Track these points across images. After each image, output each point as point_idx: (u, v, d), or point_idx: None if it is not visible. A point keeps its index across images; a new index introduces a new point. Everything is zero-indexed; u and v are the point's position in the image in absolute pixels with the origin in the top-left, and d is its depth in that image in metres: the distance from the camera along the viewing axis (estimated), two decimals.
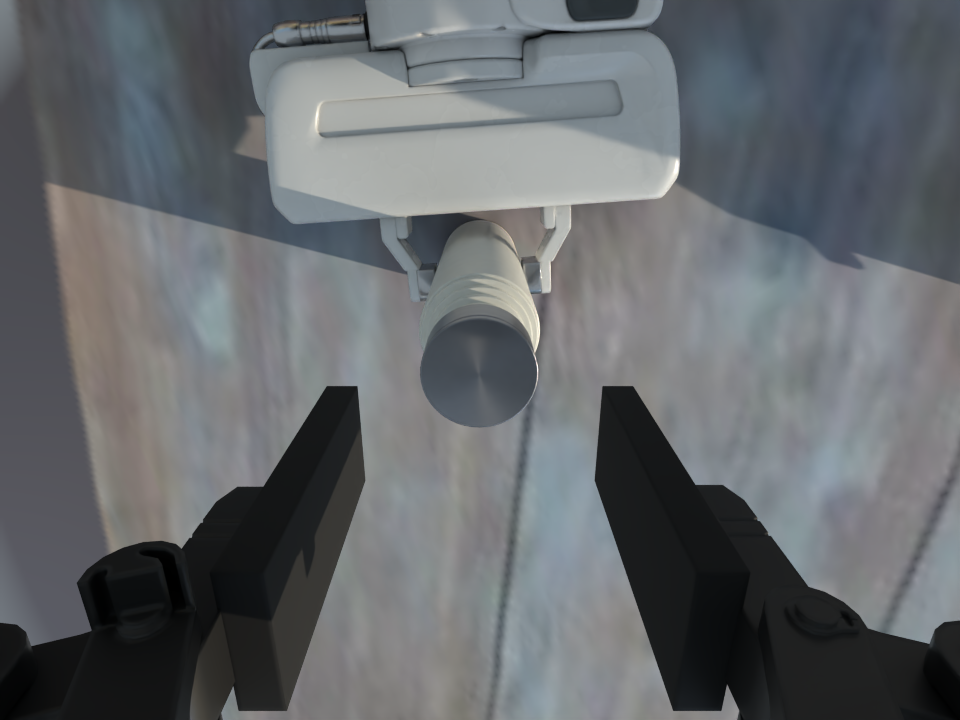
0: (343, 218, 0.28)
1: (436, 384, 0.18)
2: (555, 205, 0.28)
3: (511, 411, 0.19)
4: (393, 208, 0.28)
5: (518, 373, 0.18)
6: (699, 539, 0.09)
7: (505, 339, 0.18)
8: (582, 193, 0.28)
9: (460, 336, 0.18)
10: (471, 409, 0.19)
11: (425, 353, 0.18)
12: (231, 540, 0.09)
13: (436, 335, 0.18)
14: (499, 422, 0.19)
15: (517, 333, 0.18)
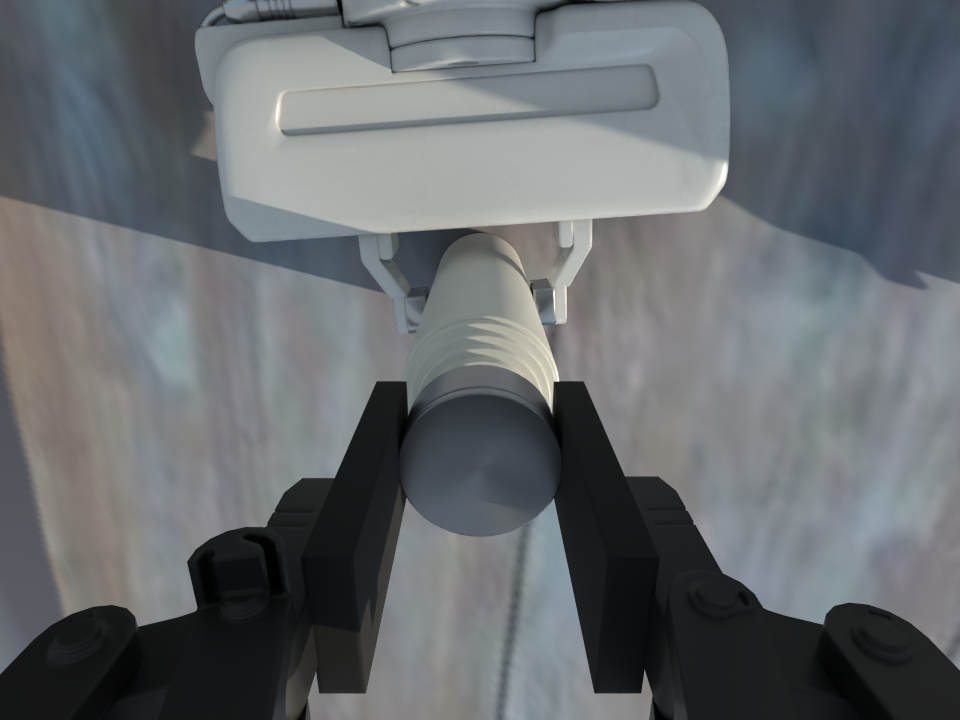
0: (313, 235, 0.23)
1: (420, 481, 0.13)
2: (573, 219, 0.23)
3: (525, 516, 0.13)
4: (374, 223, 0.23)
5: (535, 466, 0.13)
6: (617, 526, 0.09)
7: (517, 421, 0.13)
8: (607, 205, 0.22)
9: (453, 417, 0.12)
10: (468, 513, 0.13)
11: (404, 440, 0.13)
12: (315, 527, 0.09)
13: (419, 415, 0.13)
14: (508, 530, 0.14)
15: (534, 413, 0.12)
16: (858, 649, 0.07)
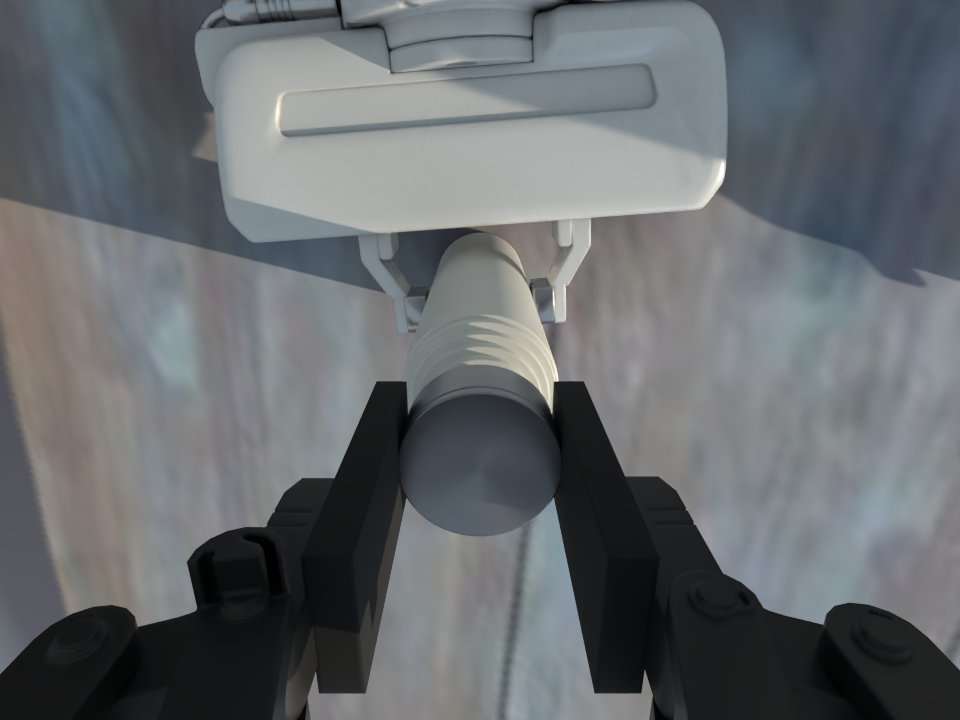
0: (313, 235, 0.23)
1: (522, 505, 0.13)
2: (572, 218, 0.23)
3: (505, 404, 0.12)
4: (374, 223, 0.23)
5: (447, 428, 0.13)
6: (617, 526, 0.09)
7: (415, 466, 0.13)
8: (605, 204, 0.23)
9: (445, 512, 0.13)
10: (532, 452, 0.13)
11: (491, 534, 0.14)
12: (314, 527, 0.09)
13: (462, 533, 0.14)
14: (529, 410, 0.12)
15: (399, 458, 0.13)
16: (858, 649, 0.07)
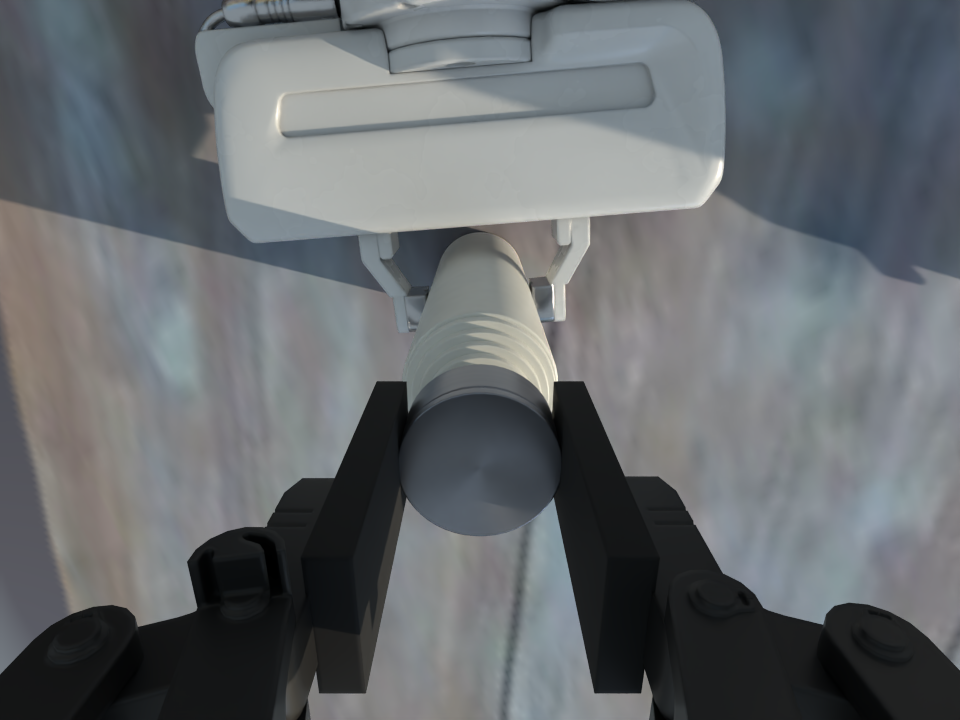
0: (313, 236, 0.23)
1: (494, 413, 0.12)
2: (571, 217, 0.23)
3: (408, 481, 0.13)
4: (374, 223, 0.23)
5: (458, 511, 0.13)
6: (617, 526, 0.09)
7: (510, 515, 0.13)
8: (604, 203, 0.23)
9: (542, 470, 0.13)
10: (436, 438, 0.13)
11: (543, 421, 0.13)
12: (315, 527, 0.09)
13: (559, 444, 0.13)
14: (399, 463, 0.13)
15: (510, 530, 0.14)
16: (858, 649, 0.07)
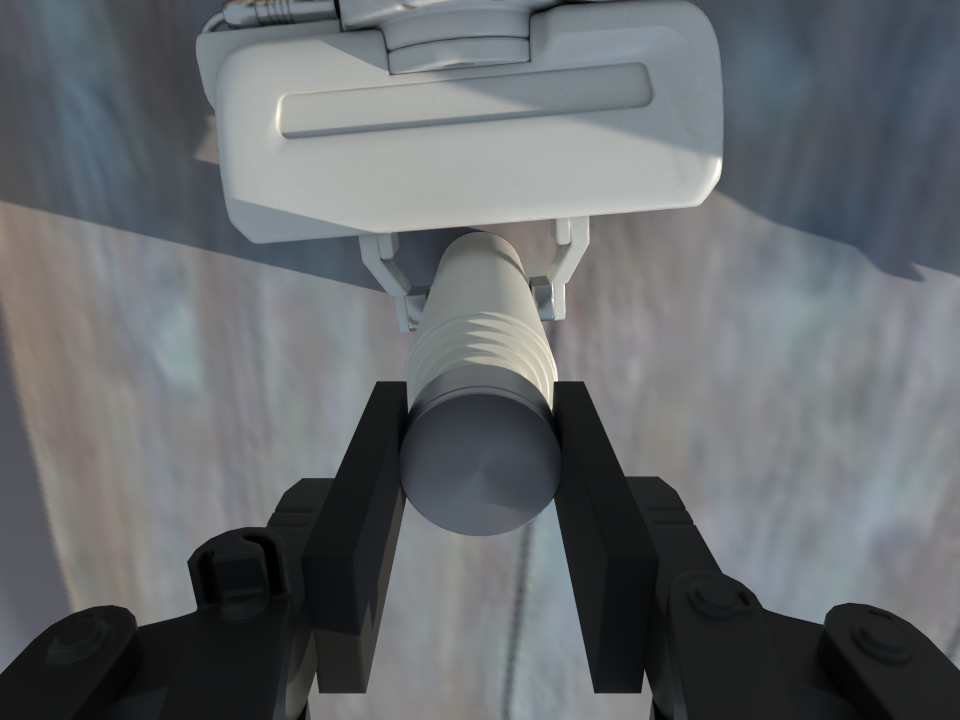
0: (314, 236, 0.23)
1: (422, 485, 0.13)
2: (570, 216, 0.23)
3: (530, 511, 0.13)
4: (374, 223, 0.23)
5: (535, 461, 0.13)
6: (617, 526, 0.09)
7: (512, 418, 0.12)
8: (603, 202, 0.23)
9: (448, 419, 0.13)
10: (474, 514, 0.13)
11: (402, 446, 0.13)
12: (315, 527, 0.09)
13: (414, 420, 0.13)
14: (515, 527, 0.14)
15: (528, 408, 0.12)
16: (858, 649, 0.07)
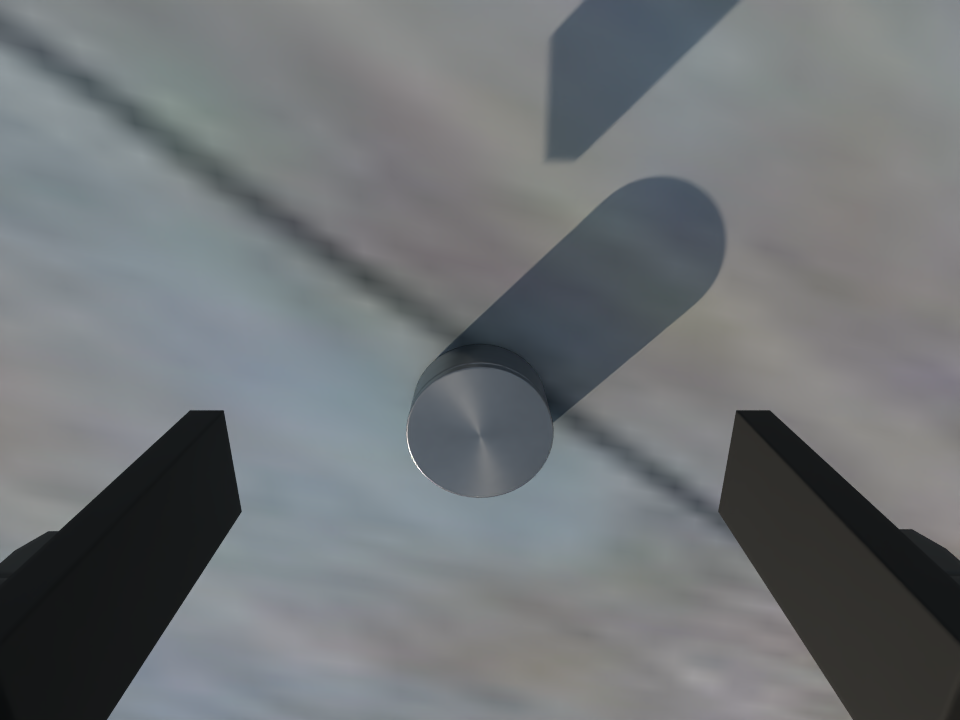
0: None
1: (428, 451, 0.15)
2: None
3: (524, 475, 0.15)
4: None
5: (528, 429, 0.15)
6: (949, 608, 0.07)
7: (508, 390, 0.14)
8: None
9: (451, 391, 0.14)
10: (474, 477, 0.15)
11: (410, 415, 0.14)
12: None
13: (421, 392, 0.14)
14: (511, 489, 0.15)
15: (522, 381, 0.14)
16: None
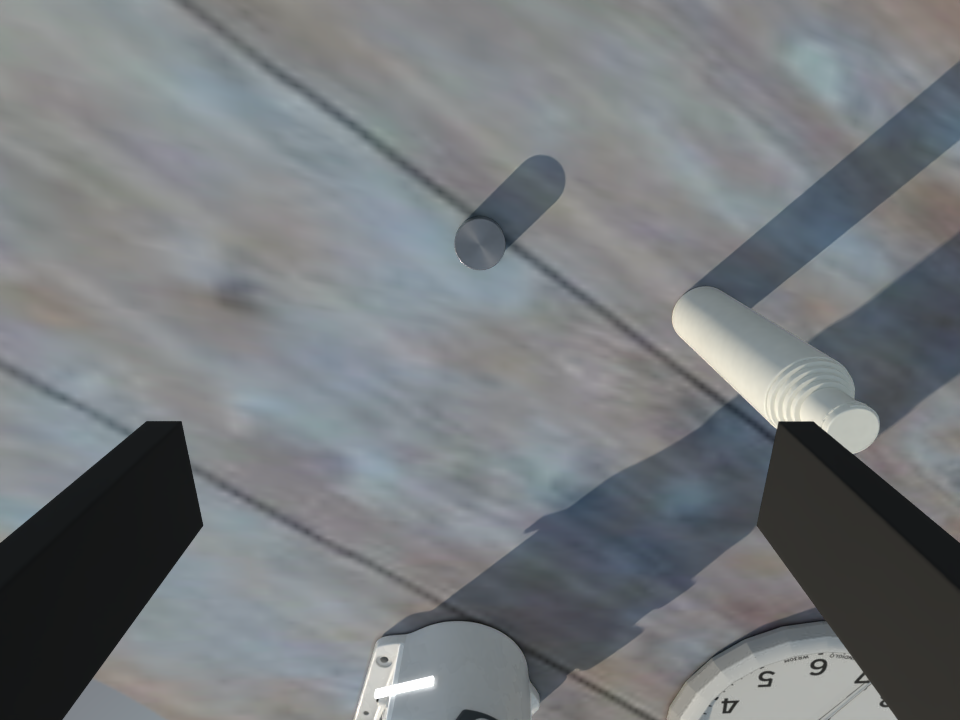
0: None
1: (461, 251, 0.42)
2: None
3: (495, 260, 0.43)
4: None
5: (496, 242, 0.42)
6: None
7: (489, 227, 0.42)
8: None
9: (470, 227, 0.42)
10: (478, 261, 0.43)
11: (456, 237, 0.42)
12: None
13: (460, 228, 0.42)
14: (491, 266, 0.43)
15: (494, 224, 0.42)
16: None
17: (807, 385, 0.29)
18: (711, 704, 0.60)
